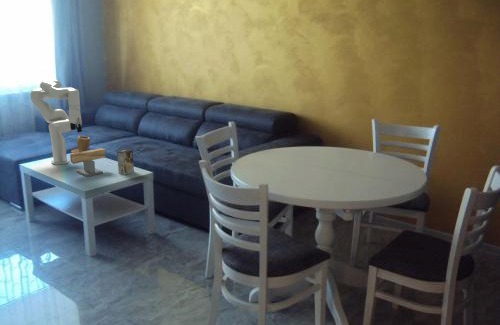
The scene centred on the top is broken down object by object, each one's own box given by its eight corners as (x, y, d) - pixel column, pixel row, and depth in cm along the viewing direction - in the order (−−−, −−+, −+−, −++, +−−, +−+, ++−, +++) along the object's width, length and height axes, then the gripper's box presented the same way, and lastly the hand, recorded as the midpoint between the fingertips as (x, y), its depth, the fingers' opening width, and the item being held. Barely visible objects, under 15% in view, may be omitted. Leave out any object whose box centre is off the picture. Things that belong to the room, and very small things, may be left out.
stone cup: (94, 154, 382) (92, 136, 378) (80, 157, 374) (78, 139, 370) (84, 151, 392) (83, 133, 388) (70, 153, 384) (69, 135, 379)
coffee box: (127, 170, 343) (126, 148, 339) (134, 171, 340) (133, 150, 336) (118, 173, 336) (116, 151, 331) (124, 175, 333) (123, 152, 328)
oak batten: (70, 162, 327) (69, 154, 325) (102, 156, 343) (101, 148, 342) (73, 163, 324) (73, 155, 322) (105, 157, 340) (105, 149, 339)
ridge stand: (76, 172, 337) (75, 159, 335) (91, 168, 346) (90, 156, 343) (87, 177, 327) (86, 163, 324) (103, 173, 335) (102, 160, 332)
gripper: (63, 105, 336) (65, 129, 341) (75, 109, 325) (77, 133, 330) (73, 104, 342) (75, 128, 347) (85, 108, 330) (87, 132, 335)
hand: (76, 130), depth 338 cm, fingers open, 9 cm apart
